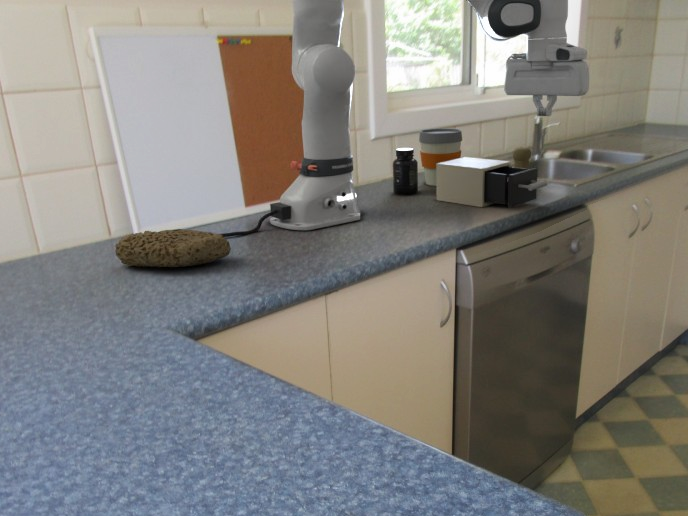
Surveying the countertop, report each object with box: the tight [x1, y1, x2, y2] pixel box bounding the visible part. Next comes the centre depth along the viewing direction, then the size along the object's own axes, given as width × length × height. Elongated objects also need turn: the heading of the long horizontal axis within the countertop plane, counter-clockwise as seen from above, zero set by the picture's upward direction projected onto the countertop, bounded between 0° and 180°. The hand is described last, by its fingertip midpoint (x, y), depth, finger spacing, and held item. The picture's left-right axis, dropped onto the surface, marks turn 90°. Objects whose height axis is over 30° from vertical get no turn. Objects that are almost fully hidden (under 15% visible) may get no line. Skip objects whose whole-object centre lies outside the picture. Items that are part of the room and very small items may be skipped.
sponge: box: [114, 228, 232, 268], centre depth 126 cm, size 13×8×20 cm
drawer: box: [484, 166, 549, 208], centre depth 166 cm, size 18×11×8 cm, turn 49°
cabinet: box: [436, 156, 512, 208], centre depth 172 cm, size 15×13×10 cm
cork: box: [511, 146, 532, 170], centre depth 185 cm, size 6×6×11 cm
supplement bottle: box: [392, 147, 419, 196], centre depth 182 cm, size 7×7×12 cm
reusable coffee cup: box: [418, 127, 463, 187], centre depth 194 cm, size 13×12×15 cm
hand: (544, 115), depth 154 cm, fingers closed
